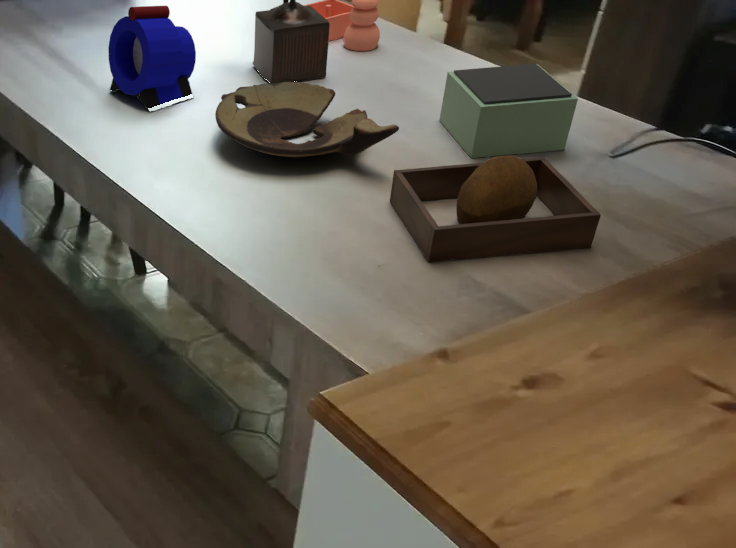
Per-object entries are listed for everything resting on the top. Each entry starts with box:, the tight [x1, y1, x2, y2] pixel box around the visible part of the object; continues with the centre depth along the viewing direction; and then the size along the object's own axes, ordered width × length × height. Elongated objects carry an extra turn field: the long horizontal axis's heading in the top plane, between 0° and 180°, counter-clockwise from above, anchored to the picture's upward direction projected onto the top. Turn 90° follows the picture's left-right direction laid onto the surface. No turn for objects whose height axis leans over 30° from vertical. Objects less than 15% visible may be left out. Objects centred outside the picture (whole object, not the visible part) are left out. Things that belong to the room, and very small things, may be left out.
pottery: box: [302, 0, 381, 52], centre depth 173 cm, size 18×10×10 cm, turn 30°
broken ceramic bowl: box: [214, 81, 400, 158], centre depth 138 cm, size 22×30×8 cm
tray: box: [389, 156, 602, 263], centre depth 120 cm, size 17×21×4 cm
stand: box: [438, 63, 579, 159], centre depth 138 cm, size 14×14×8 cm
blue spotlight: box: [107, 5, 197, 109], centre depth 155 cm, size 12×12×15 cm
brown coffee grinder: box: [252, 0, 330, 83], centre depth 159 cm, size 16×11×18 cm
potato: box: [455, 154, 538, 224], centre depth 118 cm, size 8×12×9 cm
